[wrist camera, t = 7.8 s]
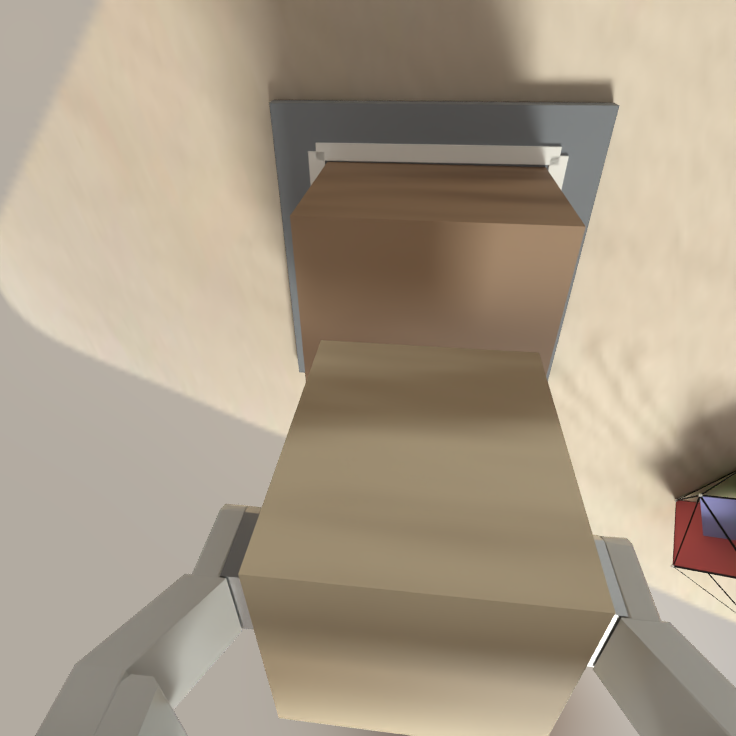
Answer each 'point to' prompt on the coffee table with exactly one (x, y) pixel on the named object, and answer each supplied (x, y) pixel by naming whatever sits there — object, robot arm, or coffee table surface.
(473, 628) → the oak block
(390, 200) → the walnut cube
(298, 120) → the pad
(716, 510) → the geometric puzzle
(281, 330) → the coffee table surface
